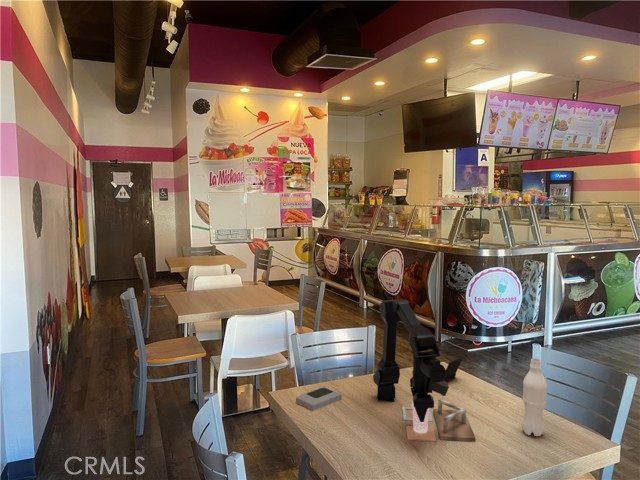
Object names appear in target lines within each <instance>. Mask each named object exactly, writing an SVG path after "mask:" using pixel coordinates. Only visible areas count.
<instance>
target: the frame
mask: <svg viewBox="0 0 640 480" xmlns="http://www.w3.org/2000/svg"><path fill="white" fill-rule="evenodd" d="M401 409H402V417H403V421H405V422H413V418H410V417H409V418H407V412H406V411H407V410H408V411H409V410H410V411H411V410H412V411H413V407H412V406H411V407H406V406H402V407H401ZM428 423H434V419H433V416H432V411H431V408H430V409H429V421H428Z"/></svg>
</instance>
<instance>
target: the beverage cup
mask: <svg viewBox="0 0 640 480" xmlns="http://www.w3.org/2000/svg"><path fill="white" fill-rule="evenodd" d="M411 408H413V410H412V419H413V421H412V426H413V429H414V431H415V432H417V433H426V432H427V431H428V427H429V422H428V421H429V409H430V410H431V408H428V409H427V412H426V415H425V419H424V422H420V420H419V417H418V415H417V412H416V410H415V407H414V405H413V401H411Z"/></svg>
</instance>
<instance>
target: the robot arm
mask: <svg viewBox="0 0 640 480" xmlns="http://www.w3.org/2000/svg"><path fill="white" fill-rule="evenodd" d="M379 312H380V317H381V318H382V320H383V322H384V323H383V324H384V325H383V342H382V358H381V359H380V360H379V362H378V363H377V367H376V371H375V372H374V374H373V376H372V379H373V383H374V384H375V385H376V386H377V389H376V390H377V393H376V400H377V402H393V403H394V402H395V399H396V384H397V385H398V384H399V381H400V377H401V372H400V371H401V370H400V369H401V367H400V366H399V365H398V363H397V361H396V354H397V353H396V352H397V334H398V324H399V322H400V321H401V322H402V324H403V326H404V327H405V329H406V331H407V333H408V335H409V337H408V342H409V347H410V349H411V351H410V353H411V354H412V355H413V356H412V357H413V358H412V361H413V362H412V371H411V373H412V377H411V378H409V386H410V391H411V396H412V402H413V405H414V407H415V410H416V412H417V415H418V417H419V420H420V422H424V419H425V415H426V412H427V409H428V408H430V409H435V400H434V396H432V394H433V392H434V393H437V394H440V395H441V396H444V397H446V396H447V393H448V391H449V388H450V386H449V384H448V383H449V382H446V381H444V378H445V376H446V368H445V366H444V365H443V364H441V360H440V359H439V358H440V357H441V354H440V351H441V350H440V348H439V346H438V343H437V341H436V337H435V336H434V334H433V333H432V332H431V330H429V328H427V327H426V326H423V325H422V324H421V322H420V321H419V319H418V318H417V316H416V314H415V312H414V311H413V309H412V308H411V306H410V302H409V300H407V299H388V300H383V301H382V302H380V304H379Z"/></svg>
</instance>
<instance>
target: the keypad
mask: <svg viewBox="0 0 640 480" xmlns="http://www.w3.org/2000/svg"><path fill="white" fill-rule="evenodd" d="M342 396H343V395H342V394H341V392H339V391H337V390H335V389H332V388H329V387H327V386H321V387H318V388H315V389H312V390H310V391H307V392H304V393H301V394H299V395H298V396H297V397H296V398H295V404H297V405H300V406H302V407H303V408H305V409H307V410H309V411H311V410H312V412H315V411H317V410H319V408H320V409H322V408H324V406H325V407H327V406H329V405H332V404H334V403H336V402H339V401H342V400H343V398H342Z"/></svg>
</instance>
